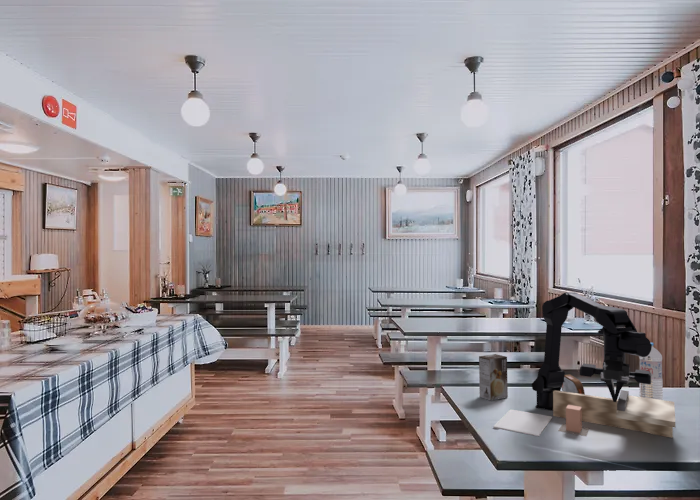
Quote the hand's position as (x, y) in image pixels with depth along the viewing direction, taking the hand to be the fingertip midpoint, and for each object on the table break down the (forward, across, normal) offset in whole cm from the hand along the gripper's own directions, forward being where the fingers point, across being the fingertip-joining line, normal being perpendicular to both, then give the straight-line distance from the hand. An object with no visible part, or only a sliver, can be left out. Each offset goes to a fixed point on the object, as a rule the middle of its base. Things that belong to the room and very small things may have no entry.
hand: (614, 401), depth 144 cm
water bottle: (+11, +8, +31) cm, 34 cm away
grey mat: (+11, -26, -2) cm, 29 cm away
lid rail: (+11, -2, +11) cm, 16 cm away
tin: (+11, -18, +36) cm, 42 cm away
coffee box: (+11, -44, +21) cm, 50 cm away
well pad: (+11, -12, 0) cm, 16 cm away
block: (+11, -12, 0) cm, 16 cm away
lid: (+2, +8, +2) cm, 8 cm away
